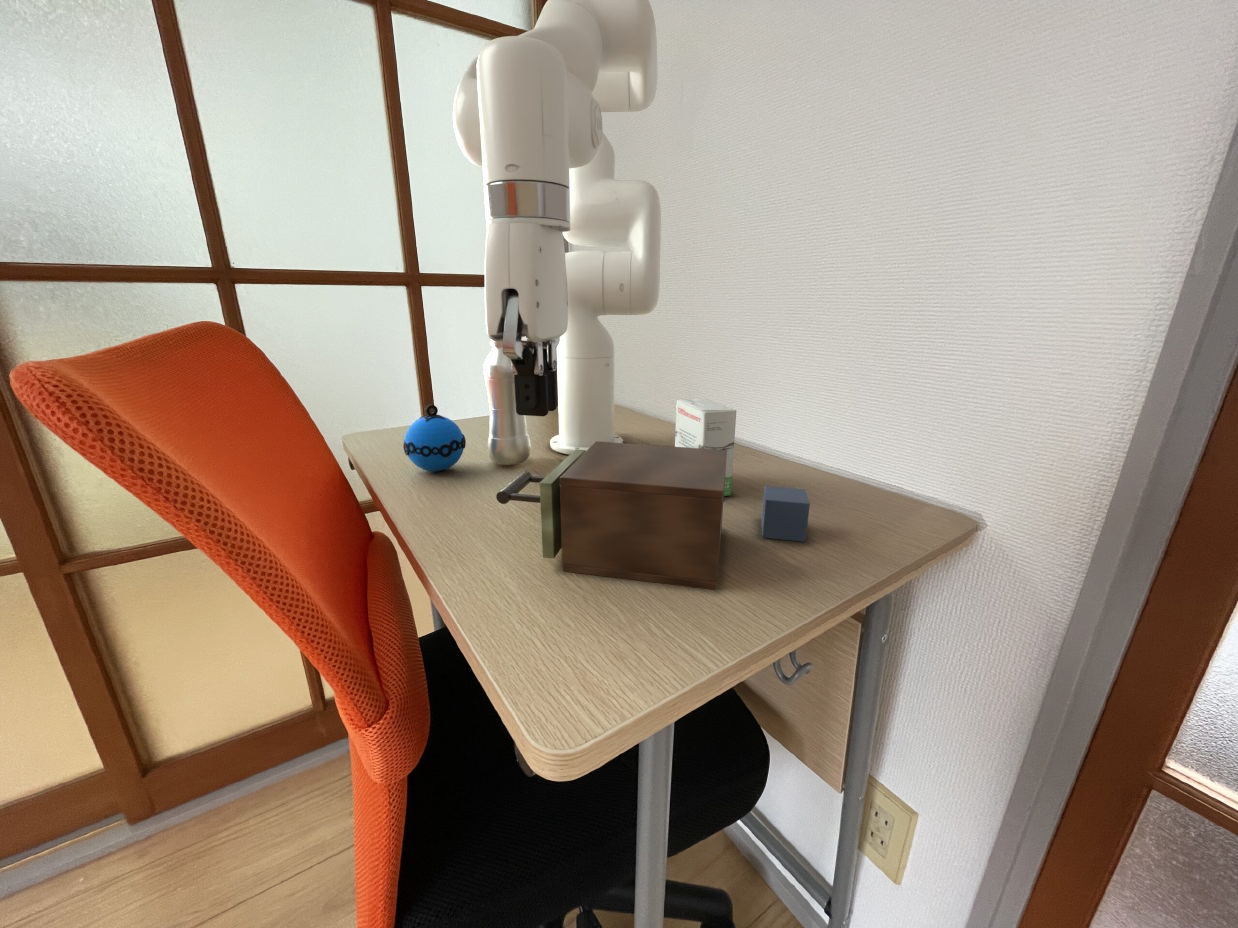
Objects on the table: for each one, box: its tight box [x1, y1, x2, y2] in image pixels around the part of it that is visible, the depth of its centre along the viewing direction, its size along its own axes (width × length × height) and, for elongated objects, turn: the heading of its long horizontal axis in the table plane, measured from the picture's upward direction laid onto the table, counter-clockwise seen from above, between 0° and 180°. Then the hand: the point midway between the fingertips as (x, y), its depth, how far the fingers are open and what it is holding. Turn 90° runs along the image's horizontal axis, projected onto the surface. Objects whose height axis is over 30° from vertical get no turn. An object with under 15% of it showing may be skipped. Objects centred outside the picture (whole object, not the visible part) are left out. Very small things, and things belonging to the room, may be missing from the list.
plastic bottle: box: [482, 338, 532, 466], centre depth 80 cm, size 6×7×20 cm
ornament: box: [402, 404, 467, 473], centre depth 77 cm, size 9×9×10 cm
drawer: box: [495, 449, 586, 559], centre depth 55 cm, size 19×11×8 cm, turn 77°
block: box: [760, 485, 811, 543], centre depth 59 cm, size 4×4×4 cm
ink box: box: [674, 398, 737, 497], centre depth 71 cm, size 9×5×12 cm, turn 19°
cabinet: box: [560, 441, 727, 591], centre depth 54 cm, size 15×13×10 cm
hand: (536, 411), depth 53 cm, fingers closed
